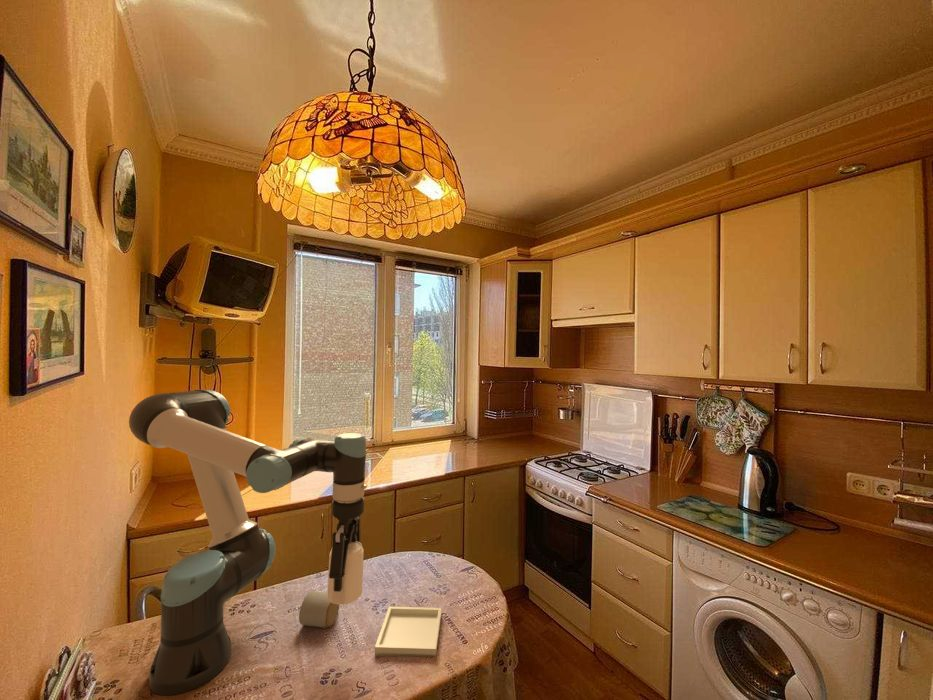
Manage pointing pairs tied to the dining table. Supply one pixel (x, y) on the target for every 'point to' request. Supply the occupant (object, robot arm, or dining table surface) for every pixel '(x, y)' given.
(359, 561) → the beverage can
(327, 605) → the ceramic mug
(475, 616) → the dining table surface
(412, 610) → the holder tray
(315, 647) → the dining table surface
